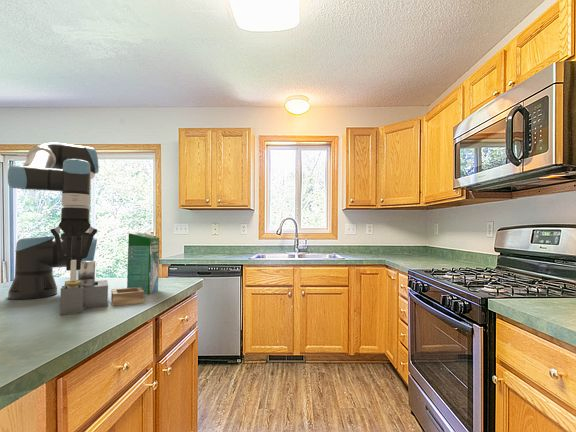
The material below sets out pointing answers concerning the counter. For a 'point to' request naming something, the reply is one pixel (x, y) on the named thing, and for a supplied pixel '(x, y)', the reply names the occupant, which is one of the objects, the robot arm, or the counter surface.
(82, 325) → the counter surface
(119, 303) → the tray
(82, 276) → the shiny silver rounded cylinder
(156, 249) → the milk carton
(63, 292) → the socket block
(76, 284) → the gold rounded cylinder
